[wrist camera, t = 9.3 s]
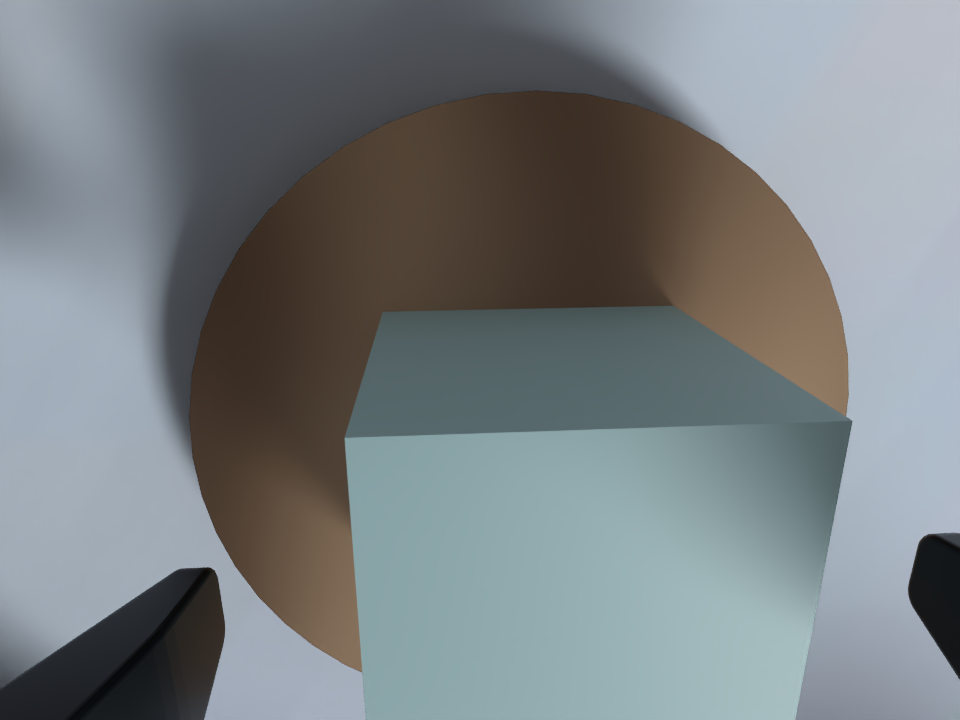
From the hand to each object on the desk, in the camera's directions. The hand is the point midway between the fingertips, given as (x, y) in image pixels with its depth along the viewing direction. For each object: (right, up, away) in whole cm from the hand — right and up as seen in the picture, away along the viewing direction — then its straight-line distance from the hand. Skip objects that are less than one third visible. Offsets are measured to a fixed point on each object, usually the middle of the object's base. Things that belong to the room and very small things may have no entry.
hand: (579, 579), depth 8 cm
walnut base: (0, +2, +5) cm, 5 cm away
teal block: (0, +1, +4) cm, 4 cm away
